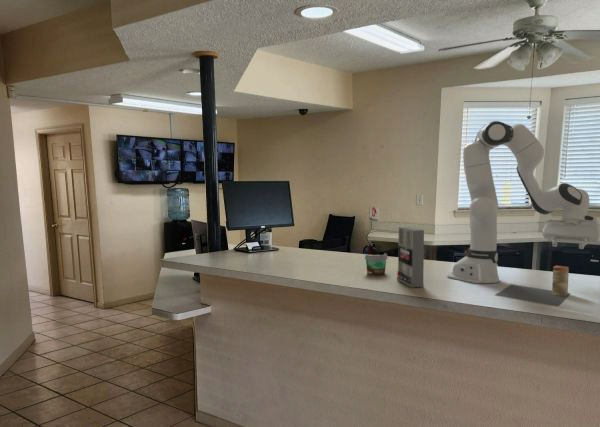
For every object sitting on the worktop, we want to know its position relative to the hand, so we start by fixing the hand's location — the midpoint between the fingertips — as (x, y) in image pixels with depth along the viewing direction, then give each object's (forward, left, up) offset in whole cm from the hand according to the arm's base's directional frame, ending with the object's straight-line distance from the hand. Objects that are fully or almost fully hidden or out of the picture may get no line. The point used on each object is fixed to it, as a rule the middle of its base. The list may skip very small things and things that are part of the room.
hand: (567, 246), depth 169 cm
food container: (-74, -27, -18) cm, 81 cm away
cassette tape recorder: (-54, -33, -18) cm, 66 cm away
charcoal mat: (-8, -18, -18) cm, 27 cm away
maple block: (0, -11, -18) cm, 21 cm away
